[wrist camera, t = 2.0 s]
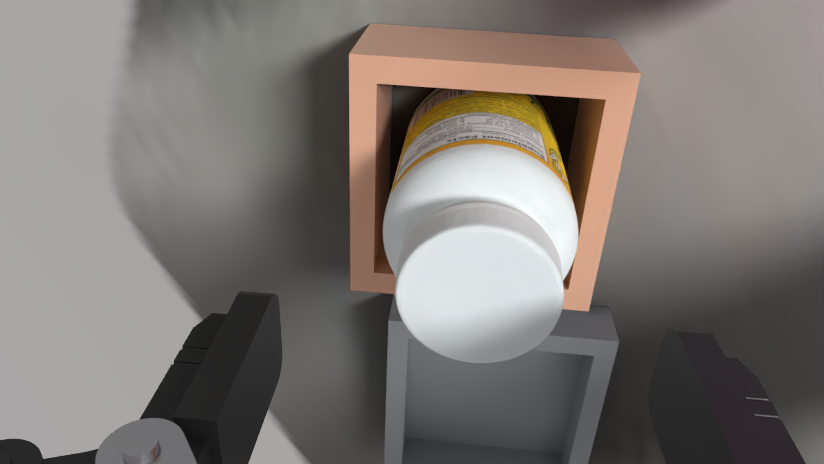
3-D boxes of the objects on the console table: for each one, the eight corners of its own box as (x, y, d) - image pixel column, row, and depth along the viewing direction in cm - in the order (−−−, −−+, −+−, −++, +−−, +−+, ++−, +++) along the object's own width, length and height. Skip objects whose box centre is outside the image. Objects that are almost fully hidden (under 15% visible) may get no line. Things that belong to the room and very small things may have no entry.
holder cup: (614, 39, 21) (641, 73, 18) (573, 249, 25) (588, 311, 22) (370, 23, 22) (348, 53, 18) (368, 233, 26) (350, 290, 22)
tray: (609, 307, 26) (619, 341, 25) (573, 457, 31) (579, 496, 29) (394, 288, 27) (388, 320, 25) (389, 438, 31) (383, 475, 29)
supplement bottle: (428, 52, 22) (395, 167, 14) (578, 95, 22) (635, 232, 14) (391, 189, 25) (345, 354, 16) (525, 226, 25) (547, 406, 17)
